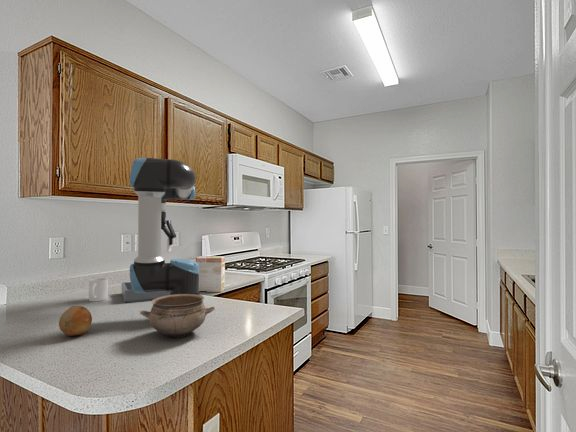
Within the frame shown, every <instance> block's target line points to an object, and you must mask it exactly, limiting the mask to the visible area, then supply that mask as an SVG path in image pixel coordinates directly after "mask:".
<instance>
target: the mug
mask: <svg viewBox="0 0 576 432" xmlns="http://www.w3.org/2000/svg"><path fill="white" fill-rule="evenodd" d="M108 295H109V278H107V277H97V278H91V279H88V301H89V302H92V303H94V302H96V303H97V302H98V303H99V302H103V301H106V300H108Z"/></svg>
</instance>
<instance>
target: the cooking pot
mask: <svg viewBox="0 0 576 432" xmlns="http://www.w3.org/2000/svg"><path fill="white" fill-rule="evenodd" d="M204 300H205V297H204V296H202V295H201V294H199V295H195V294H175V295H167V296H162V297H158V298H155V299H153V300H152V301H151V303H152V307H151V309H150V311H146V310H143V309H142V310H140V311H139V313H140V315H141V316H142V317H145V318H147V319H148V320H149V323H150V325H151V326H152V328H153V329H154V330H155V331H157V332H159V333H160V334H162V335H165V336H167V337H170V338H175V337H176V338H181V337H182V336H183V337H185V336H188V335H189V334H190V333H192V332H194V331H195V330H196V329H198V328H200V327H201V325H203V324H204V322H205V320H206V316H207V315H208V314H210V313H212V312H213V311H215V306H211V307H206V306H205V303H204Z"/></svg>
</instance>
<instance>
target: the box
mask: <svg viewBox="0 0 576 432" xmlns="http://www.w3.org/2000/svg"><path fill="white" fill-rule="evenodd" d="M121 295H122V299H123V301H124V303H125V304H130V303H140V302H142V303H143V302H149V301H151V302H152V300H153V299H155V298H158V297H162V296H167V295H170V291H167V292H150V293H136V292H134V291H133V289H132V286H131V281H125V282H124V281H123V282H121Z"/></svg>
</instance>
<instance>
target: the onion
mask: <svg viewBox="0 0 576 432" xmlns="http://www.w3.org/2000/svg"><path fill="white" fill-rule="evenodd" d="M92 321H93V316H92V313H91V312H90V310H89V309H88V308H86V307H84V306H83V305H72V306H71V307H69V308H67V309H66V310H65V311H64V312H63V313H62V314H61V315H60V318H59V320H58V327H59V330H60V331H61V332H62V333H63V334H64V335H66V336H68V337H70V336H72V337H74V336H82V335H84V334H85V333H86V332H87V331H88V330H89V329H90V327H91V325H92V323H93V322H92Z"/></svg>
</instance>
